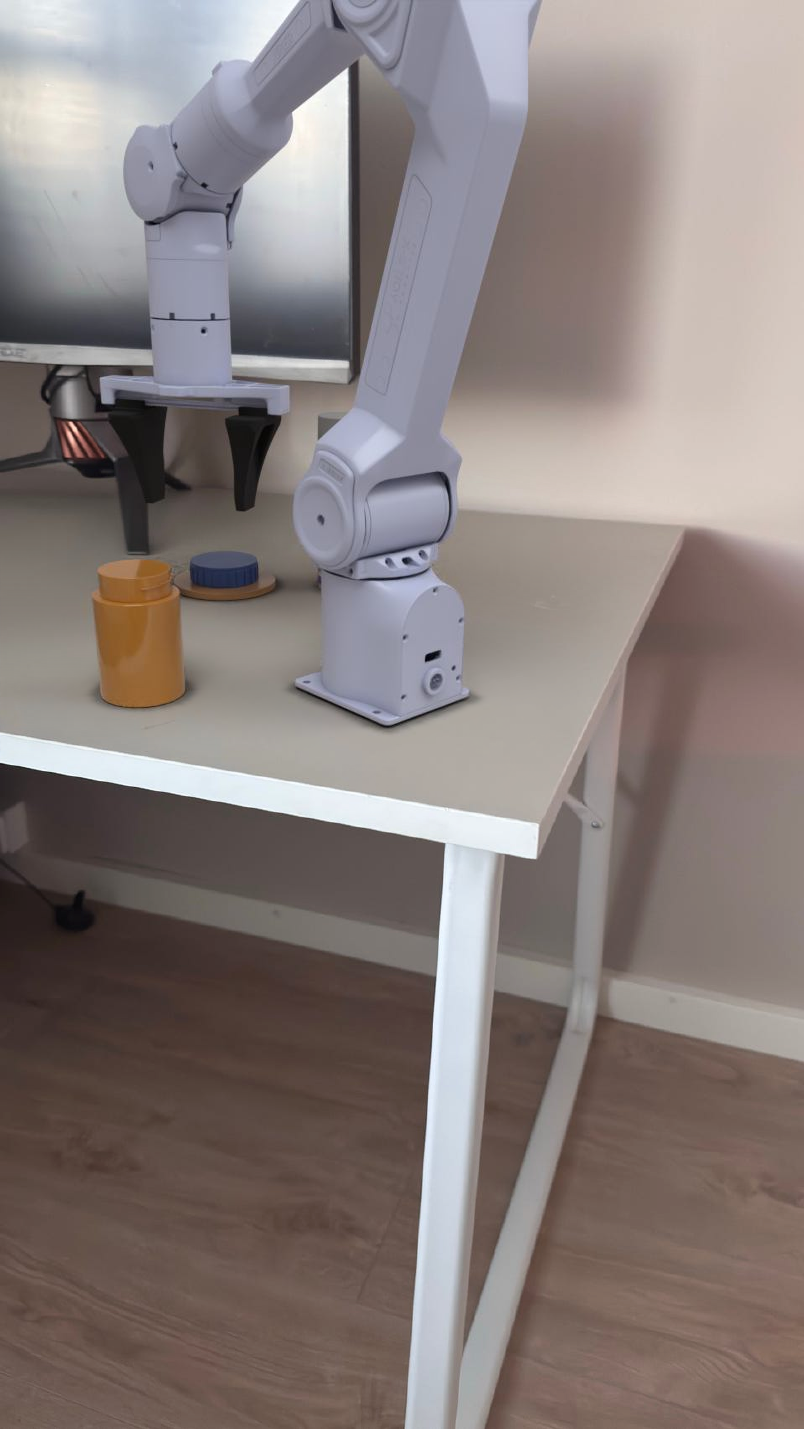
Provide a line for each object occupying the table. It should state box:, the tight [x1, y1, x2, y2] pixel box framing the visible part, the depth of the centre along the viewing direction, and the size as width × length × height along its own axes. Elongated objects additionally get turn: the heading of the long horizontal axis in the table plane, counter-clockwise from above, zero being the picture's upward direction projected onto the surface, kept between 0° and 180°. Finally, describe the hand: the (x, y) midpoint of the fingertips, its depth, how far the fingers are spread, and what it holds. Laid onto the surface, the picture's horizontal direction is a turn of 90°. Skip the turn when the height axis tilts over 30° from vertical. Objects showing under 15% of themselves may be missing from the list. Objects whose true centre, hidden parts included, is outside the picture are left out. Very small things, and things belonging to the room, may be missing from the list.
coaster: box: [173, 568, 277, 601], centre depth 96 cm, size 9×9×1 cm
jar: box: [91, 558, 186, 708], centre depth 71 cm, size 6×6×9 cm
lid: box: [189, 550, 259, 588], centre depth 96 cm, size 6×6×2 cm
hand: (199, 504), depth 83 cm, fingers open, 7 cm apart
